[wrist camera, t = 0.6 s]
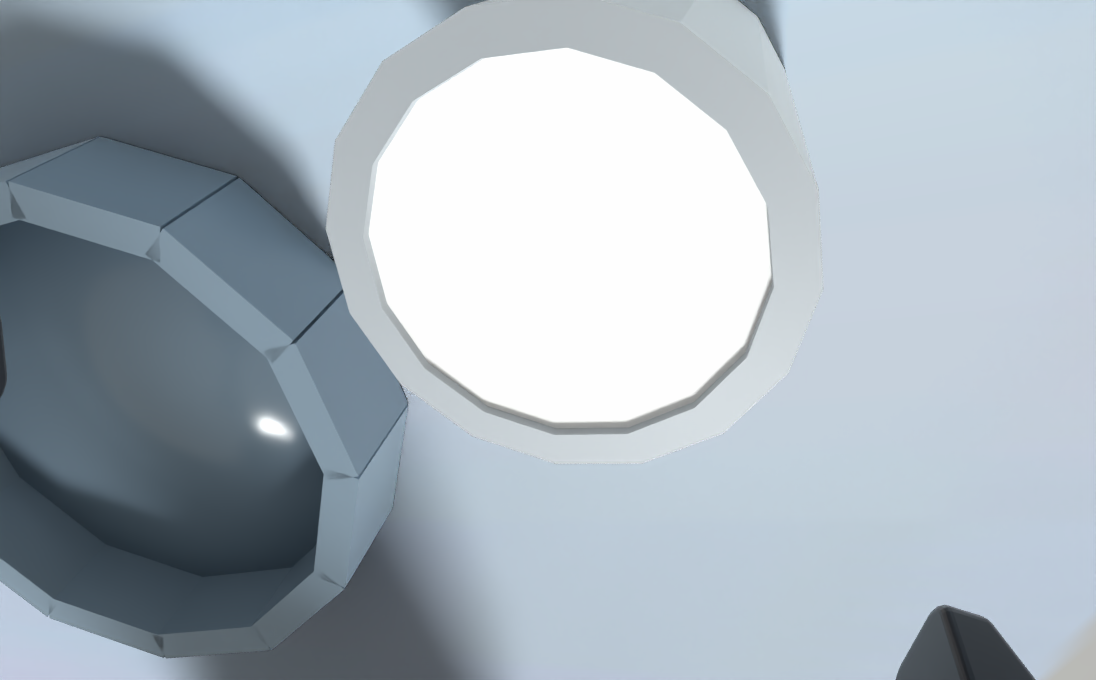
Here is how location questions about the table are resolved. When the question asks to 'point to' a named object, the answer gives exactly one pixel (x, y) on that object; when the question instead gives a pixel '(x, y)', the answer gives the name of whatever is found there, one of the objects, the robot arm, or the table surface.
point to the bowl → (180, 406)
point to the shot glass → (581, 223)
